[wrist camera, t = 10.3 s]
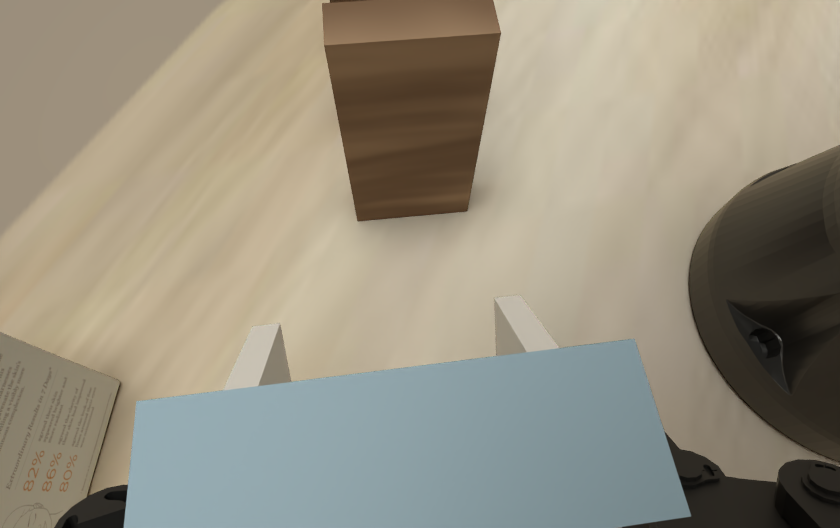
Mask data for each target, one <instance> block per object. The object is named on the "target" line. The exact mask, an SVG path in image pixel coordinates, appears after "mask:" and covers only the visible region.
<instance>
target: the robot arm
mask: <svg viewBox="0 0 840 528" xmlns="http://www.w3.org/2000/svg"><path fill="white" fill-rule="evenodd" d="M690 296H691V303H692V308H693V312H694V316H695V320H696V323H697V326H698V329H699V332H700V334H701V337H702V339H703V341H704V343H705V345H706V348H707V350H708V351H709V353H710V355H711V357H712V359H713V360H714V362H715V364H716V365H717V367H718V368H719V370H720V371H721V373H722V374H723V375H724V377H725V378H726V380H727V381H728V382H729V383H730V385H731V386H732V387H733V388H734V390H735V391H736V392H737V393H738V394H739V395H740V396H741V397H742V399H743V400H744V401H745V402H746V403H747V404H748V405H749V406H750V407H751V408H752V409H753V410H754V411H756V412H757V413H758V414H759V415H760V416H761V417H762V418H764V419H765V420H766V421H767V422H768V423H770V424H771V425H772V426H774V427H775V428H776V429H778V430H779V431H781V432H782V433H783V434H785V435H786V436H788V437H789V438H791V439H793V440H794V441H796V442H798V443H799V444H801V445H803V446H805V447H807V448H809V449H811V450H813V451H815V452H817V453H819V454H821V455H823V456H826V457H828V458H831V459H833V460H836V461H839V462H840V145H839V146H836V147H834V148H832V149H829V150H827V151H824V152H822V153H820V154H817V155H815V156H813V157H811V158H808V159H806V160H804V161H802V162H799V163H797V164H793V165H790V166H787V167H784V168H781V169H778V170H776V171H773V172H770V173H768V174H766V175H764V176H762V177H760V178H758V179H757V180H755V181H753V182H752V183H750V184H749V185H747V186H746V187H745V188H743V189H742V190H741V191H740V192H738V193H737V194H736V195H735V196H734V197H733V198H732V199H731V200H730V201H729V202H728V203H727V204H726V205H725V206H723V207H722V208H721V209H720V210H719V211H718V212H717V213H716V214H715V215H714V216H713V217H712V219H711V220H710V221H709V222H708V224H707V225H706V226H705V228H704V230H703V231H702V233H701V235H700V237H699V239H698V241H697V244H696V246H695V249H694V252H693V256H692V261H691V267H690ZM494 308H495V333H496V356H501V355H509V354H517V353H525V352H533V351H541V350H549V349H557V348H559V347H558V345H557V344H556V343H555V341H554V340H553V339H552V337H551V336H550V335H549V333H548V332H547V330H546V329H545V328H544V326H543V325H542V324H541V322H540V321H539V320H538V318H537V317H536V316H535V314H534V313H533V311H532V310H531V309H530V307H529V306H528V305H527V303H526V302H525V301H524V299H523V298H522V296H521V295H514V296H505V297H497V298H494ZM287 382H291V378H290V372H289V367H288V362H287V357H286V351H285V346H284V341H283V336H282V330H281V325H280V323H277V324H269V325H260V326H252V328H251V330H250V333H249V335H248V337H247V339H246V341H245V343H244V346H243V348H242V350H241V352H240V354H239V357H238V359H237V361H236V363H235V365H234V367H233V370H232V372H231V374H230V376H229V378H228V380H227V383H226V385H225V387H224V389H223V390H231V389H239V388H247V387H255V386H263V385H271V384H279V383H287ZM665 435H666V439H667V442H668V445H669V448H670V451H671V454H672V457H673V460H674V464H675V467H676V470H677V473H678V476H679V479H680V482H681V485H682V489H683V492H684V495H685V498H686V501H687V504H688V507H689V510H690V513H691V517H684V518H677V519H671V520H664V521H657V522H651V523H644V524H637V525H631V526H624V527H617V528H840V467H838V466H836V465H833V464H829V463H825V462H821V461H817V460H799V459H798V460H794V461H791V462H787V463H785V464H784V465H783V466H782V467H781V468H780V469H779V472H778V478H777V482H768V481H758V480H748V479H738V478H733V477H727V476H725V475H724V473H723V472H722V471H721V469H720V468H719V467H718V466H717V465H716V464H714V463H713V462H711V461H710V460H709V459H707V458H706V457H703V456H701V455H698V454H696V453H694V452H691V451H686V450H681V449H679V448H678V447H677V445H676V444H675V443H674V442H673V441H672V440H671V439H670V437H669V436H668V435H667V434H666V433H665ZM127 490H128V485H120V486H115V487H110V488H106V489H104V490H101V491H99V492H97V493H94V494H92V495H89V496H88V497H86V498H85V499H83V500H81V501H80V502H78V503H77V504H75V505H74V506H72V507H71V508H70V509H69V510H68V511H67V512H66V513H65V514H64V515H63V516H62V517H61V518H60V519H59V520H58V522H57V524H56V525H55V527H54V528H124V519H125V510H126V500H127Z"/></svg>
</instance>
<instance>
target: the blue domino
mask: <svg viewBox="0 0 840 528" xmlns="http://www.w3.org/2000/svg"><path fill="white" fill-rule="evenodd" d="M684 517H691V513H690V510H689V507H688V504H687V501H686V498H685V495H684V492H683V489H682V485H681V482H680V479H679V476H678V473H677V470H676V467H675V464H674V460H673V457H672V454H671V451H670V448H669V445H668V442H667V439H666V435H665V432H664V429H663V426H662V423H661V420H660V417H659V414H658V410H657V407H656V404H655V401H654V398H653V395H652V392H651V389H650V386H649V382H648V379H647V376H646V373H645V370H644V367H643V364H642V361H641V357H640V354H639V351H638V348H637V345H636V342H635V339H628V340H620V341H612V342H605V343H597V344H589V345H581V346H573V347H565V348H557V349H549V350H541V351H533V352H525V353H517V354H509V355H501V356H493V357H485V358H477V359H469V360H461V361H454V362H446V363H438V364H430V365H422V366H414V367H406V368H398V369H390V370H382V371H374V372H366V373H358V374H350V375H342V376H334V377H326V378H318V379H310V380H303V381H295V382H287V383H279V384H271V385H263V386H255V387H247V388H239V389H231V390H223V391H215V392H207V393H199V394H191V395H183V396H175V397H167V398H159V399H151V400H144V401H137V402H136V412H135V422H134V431H133V441H132V451H131V461H130V471H129V480H128V490H127V500H126V510H125V519H124V528H617V527H624V526H631V525H637V524H644V523H651V522H657V521H664V520H671V519H677V518H684Z"/></svg>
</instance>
